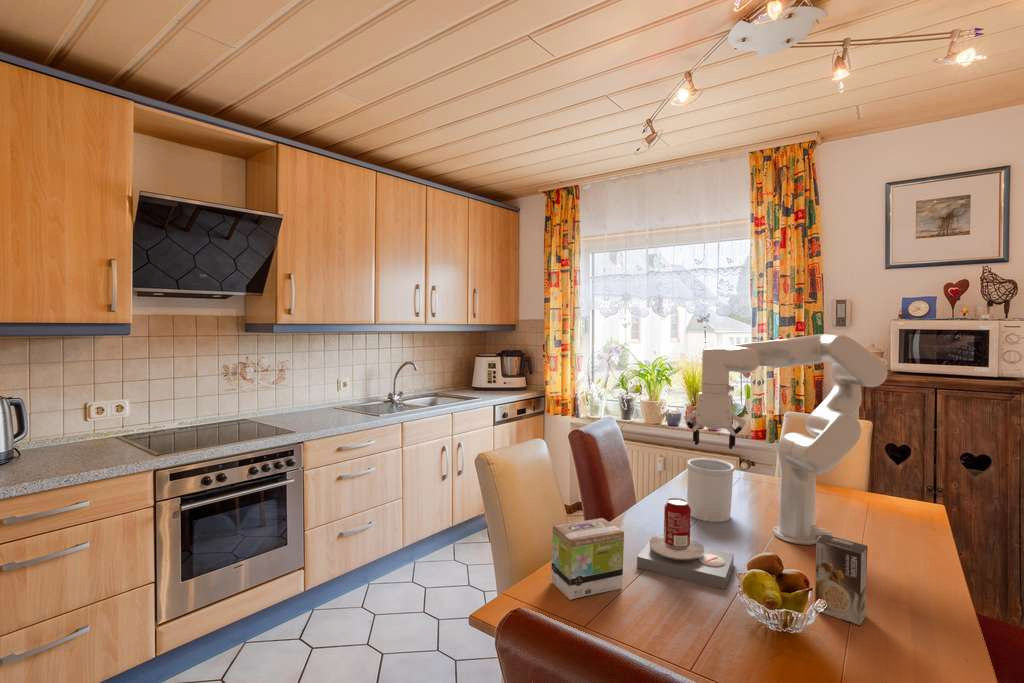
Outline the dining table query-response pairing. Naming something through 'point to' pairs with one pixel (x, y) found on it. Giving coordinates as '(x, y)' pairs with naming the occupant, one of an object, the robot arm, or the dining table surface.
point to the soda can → (677, 523)
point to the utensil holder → (710, 489)
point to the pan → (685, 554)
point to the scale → (690, 566)
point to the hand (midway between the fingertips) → (713, 446)
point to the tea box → (587, 557)
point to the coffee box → (841, 578)
